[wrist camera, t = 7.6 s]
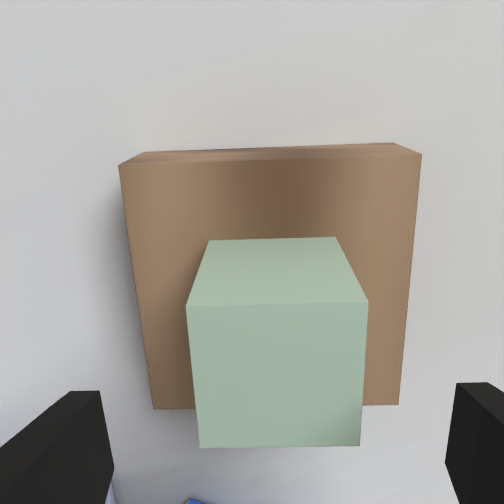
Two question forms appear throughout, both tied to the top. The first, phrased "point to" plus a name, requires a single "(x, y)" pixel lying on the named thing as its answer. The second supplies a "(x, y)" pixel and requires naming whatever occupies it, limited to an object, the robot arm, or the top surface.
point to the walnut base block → (270, 227)
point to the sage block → (277, 344)
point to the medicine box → (193, 501)
